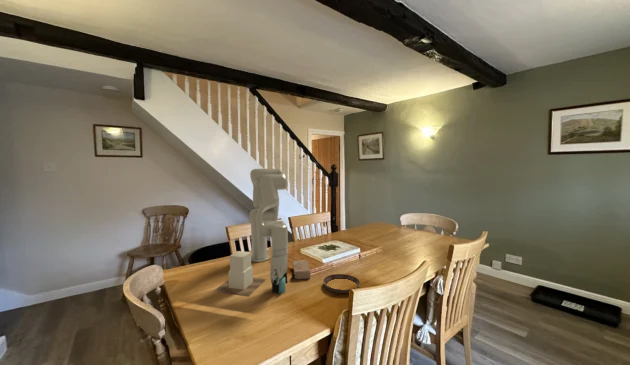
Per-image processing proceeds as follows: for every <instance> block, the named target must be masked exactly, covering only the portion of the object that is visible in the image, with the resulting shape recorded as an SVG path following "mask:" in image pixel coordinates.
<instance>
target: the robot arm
mask: <svg viewBox="0 0 630 365" xmlns="http://www.w3.org/2000/svg"><path fill="white" fill-rule="evenodd" d="M249 173H250V174H249V176H250V181H251V183H252V186H253V188H252V204H253V205H252V206H253V208H254V209H252V210H250V212H249V220H250V231H251V232H250V233H251V234H250V235H251V239H250V240H251V262H254V263H259V262H260V263H262V262H266V261H268V260H269V259H270V270H269V271H270V272H269V273H270V274H269V277H270V282H271V292H272V293H273V294H274V293H275V294H277V293H279V284H278V282H279V279H280V278H281V277H282V276H283V277H285V285H286V284H288V267H289V266H288V265H289V264H288V253H289V252H288V251H289V250H288V247H289V243H288V242H289V241H288V240H289V238H288V232H289V231H288V226H287V223H285V221H283V220H278V218H279V209H280V208H279V206H280V197H279V192H278V191H280V190H283V191H284V190H286V189H287V187H288V179H287V177H286V174H285V173H284V172H283V171H282V170H281V169H279V168H253V169H252V170H251V171H250V172H249ZM268 238H269V239H271V240H270V241H271V242H270V244H271V246H270V247H271V250H270V248H268ZM269 250H270V252H271V253H270V254H271V256H270V254H268V252H269ZM270 257H271V258H270ZM275 279H277V281H276V280H275Z"/></svg>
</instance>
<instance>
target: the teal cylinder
mask: <svg viewBox="0 0 630 365" xmlns="http://www.w3.org/2000/svg"><path fill="white" fill-rule="evenodd" d="M275 280H276V281H277V279H275ZM278 284H279V293H276V294H278V295H281V293H282V294H284V293H286V284H285V277H283V276H282V277H281V278H280V279H279V282H278Z"/></svg>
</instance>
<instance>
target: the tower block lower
mask: <svg viewBox="0 0 630 365" xmlns="http://www.w3.org/2000/svg"><path fill="white" fill-rule="evenodd" d="M253 268H254V266H253V265H251V267H250V268H248V269H247V270H246V271H244V272H238V271H230V269H229V270H228V280H229V288H235V289H242V290H245V289H246V288H247V287H248V286H249V285H250V284H251V283H253V277H254V274H253V273H254V272H253V271H254V270H253Z"/></svg>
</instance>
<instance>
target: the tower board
mask: <svg viewBox="0 0 630 365" xmlns="http://www.w3.org/2000/svg"><path fill="white" fill-rule="evenodd" d="M266 280H267V278H260V277H254V276H253V283H251V284H250V285H249V286H248V287H247V288H246V289H245V290H242V289H235V288H229V279H228V280H226V281H225V282H223V283H222V284H220V285H219V286H218V287H217V288H215V289H214V290H213V292H215V293H221V294H229V295H235V296H242V297H248V298H249V297H250V296H251V295H252V294H253V293H254V292H255V291H256V290H257V289H258V288H259V287H260V286H261V285H262V284H263V283H264V282H266Z"/></svg>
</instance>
